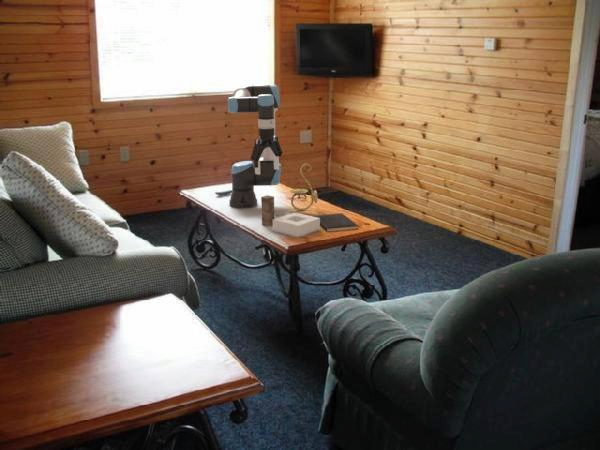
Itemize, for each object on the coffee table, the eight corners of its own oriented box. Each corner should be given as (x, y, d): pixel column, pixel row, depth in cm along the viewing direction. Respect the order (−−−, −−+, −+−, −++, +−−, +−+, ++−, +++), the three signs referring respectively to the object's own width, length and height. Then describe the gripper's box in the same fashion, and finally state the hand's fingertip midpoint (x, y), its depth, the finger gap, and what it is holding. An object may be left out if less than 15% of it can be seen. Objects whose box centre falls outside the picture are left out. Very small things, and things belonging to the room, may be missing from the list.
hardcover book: (342, 217, 359) (342, 213, 359) (357, 229, 338) (358, 225, 338) (312, 220, 355) (312, 215, 355) (326, 232, 334) (326, 228, 333)
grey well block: (294, 224, 346) (294, 212, 344) (319, 230, 336) (319, 218, 335) (272, 231, 334) (272, 219, 333) (298, 238, 325) (298, 225, 323)
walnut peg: (267, 222, 349) (267, 195, 345) (274, 224, 347) (274, 196, 343) (261, 224, 346) (261, 197, 342) (268, 226, 343) (268, 198, 339)
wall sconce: (313, 207, 377) (313, 161, 370) (318, 211, 368) (318, 164, 361) (288, 208, 374) (287, 162, 367) (292, 213, 365) (291, 166, 358)
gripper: (254, 131, 321) (255, 177, 327) (289, 125, 340) (289, 168, 346) (242, 130, 326) (243, 175, 332) (277, 123, 344) (278, 166, 350)
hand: (267, 171), depth 339 cm, fingers open, 13 cm apart
